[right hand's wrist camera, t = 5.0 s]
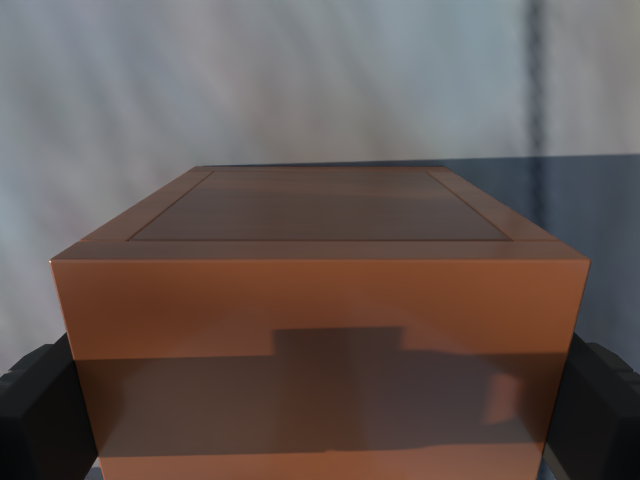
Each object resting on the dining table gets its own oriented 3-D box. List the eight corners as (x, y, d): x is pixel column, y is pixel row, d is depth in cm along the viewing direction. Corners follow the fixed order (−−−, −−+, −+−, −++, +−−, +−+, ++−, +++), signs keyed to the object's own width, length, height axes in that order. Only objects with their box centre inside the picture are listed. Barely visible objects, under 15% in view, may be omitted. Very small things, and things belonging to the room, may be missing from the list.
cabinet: (410, 492, 24) (468, 751, 14) (229, 492, 23) (171, 752, 14) (445, 166, 17) (593, 259, 8) (194, 166, 17) (46, 259, 8)
